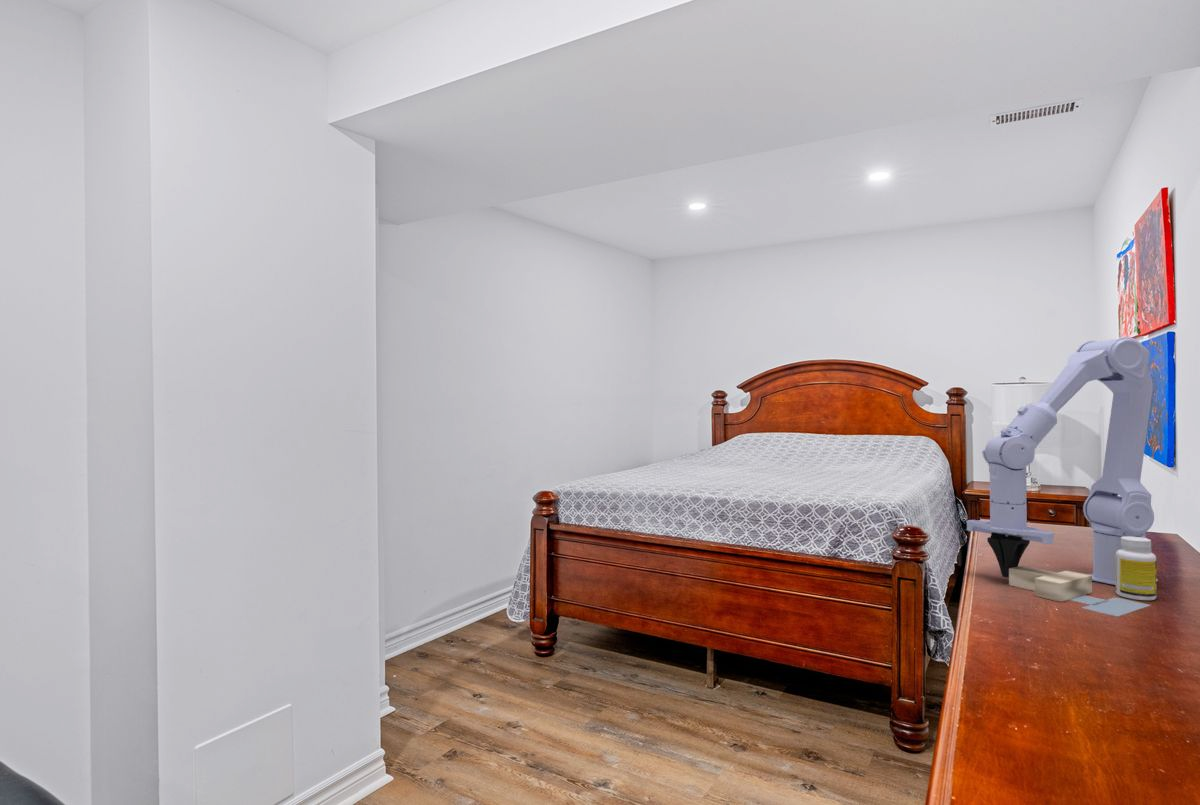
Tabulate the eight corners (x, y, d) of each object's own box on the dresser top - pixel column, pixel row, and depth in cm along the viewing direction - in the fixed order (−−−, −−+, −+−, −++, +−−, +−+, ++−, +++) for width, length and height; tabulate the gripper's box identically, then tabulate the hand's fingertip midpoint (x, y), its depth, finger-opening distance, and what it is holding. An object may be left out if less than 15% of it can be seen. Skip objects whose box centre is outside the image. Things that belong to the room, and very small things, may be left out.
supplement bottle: (1164, 602, 109) (1164, 542, 109) (1126, 600, 111) (1126, 541, 111) (1144, 592, 115) (1144, 535, 115) (1108, 591, 116) (1108, 534, 116)
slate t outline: (1075, 590, 118) (1075, 588, 118) (1151, 606, 108) (1151, 605, 108) (1041, 600, 112) (1041, 598, 112) (1117, 618, 103) (1117, 616, 103)
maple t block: (1031, 579, 124) (1030, 563, 124) (1092, 592, 115) (1091, 575, 115) (999, 587, 119) (999, 570, 119) (1060, 601, 110) (1060, 583, 110)
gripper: (956, 498, 127) (957, 570, 127) (1037, 509, 114) (1038, 589, 114) (979, 496, 130) (979, 565, 130) (1060, 505, 117) (1060, 583, 117)
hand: (1008, 576), depth 122 cm, fingers closed
